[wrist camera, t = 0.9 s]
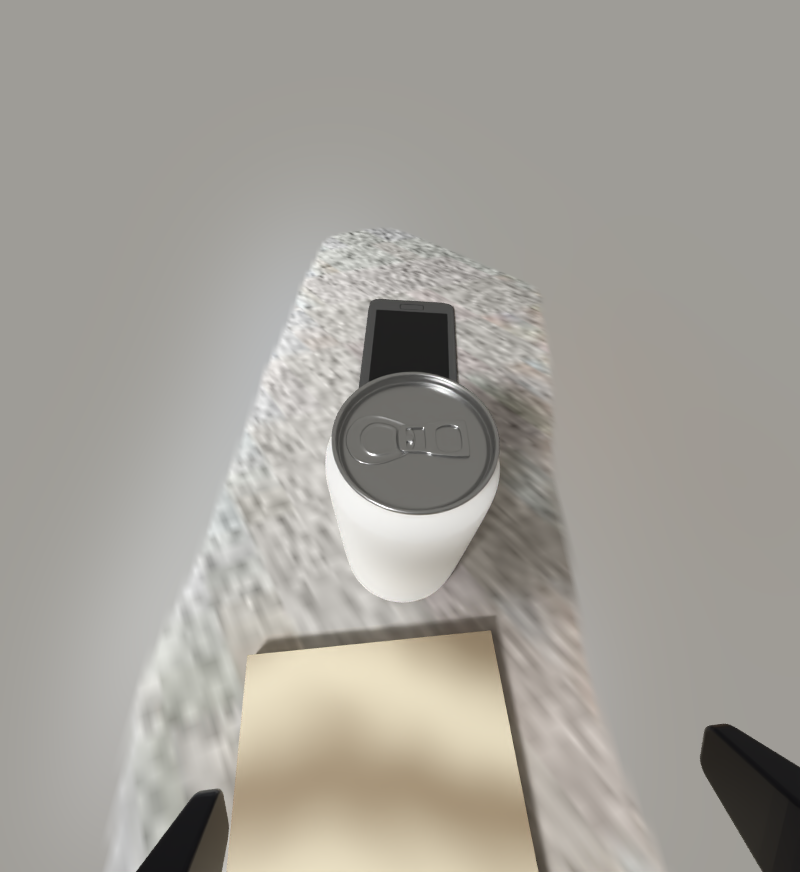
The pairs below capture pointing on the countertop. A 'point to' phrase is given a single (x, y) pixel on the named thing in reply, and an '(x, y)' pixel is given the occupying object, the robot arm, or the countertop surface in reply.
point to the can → (410, 480)
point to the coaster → (378, 761)
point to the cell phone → (408, 339)
